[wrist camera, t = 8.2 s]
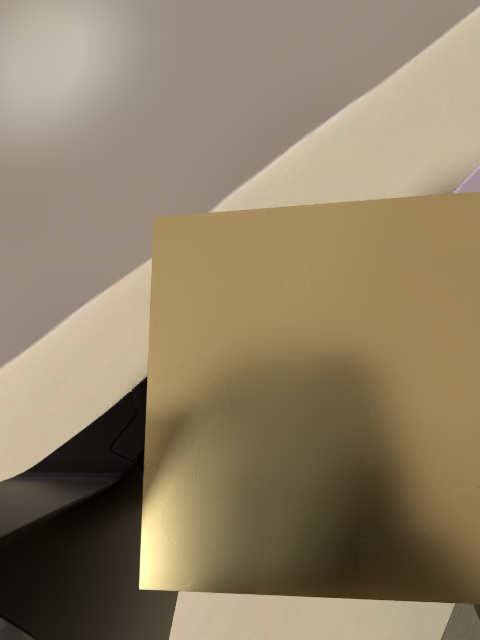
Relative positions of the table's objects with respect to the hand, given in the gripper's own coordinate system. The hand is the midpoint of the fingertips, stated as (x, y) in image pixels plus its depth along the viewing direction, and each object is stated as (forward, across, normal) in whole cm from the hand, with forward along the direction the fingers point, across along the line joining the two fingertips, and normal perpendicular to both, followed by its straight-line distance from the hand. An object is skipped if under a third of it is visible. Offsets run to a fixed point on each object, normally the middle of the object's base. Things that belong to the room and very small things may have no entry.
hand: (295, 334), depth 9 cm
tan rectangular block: (+4, 0, +6) cm, 7 cm away
